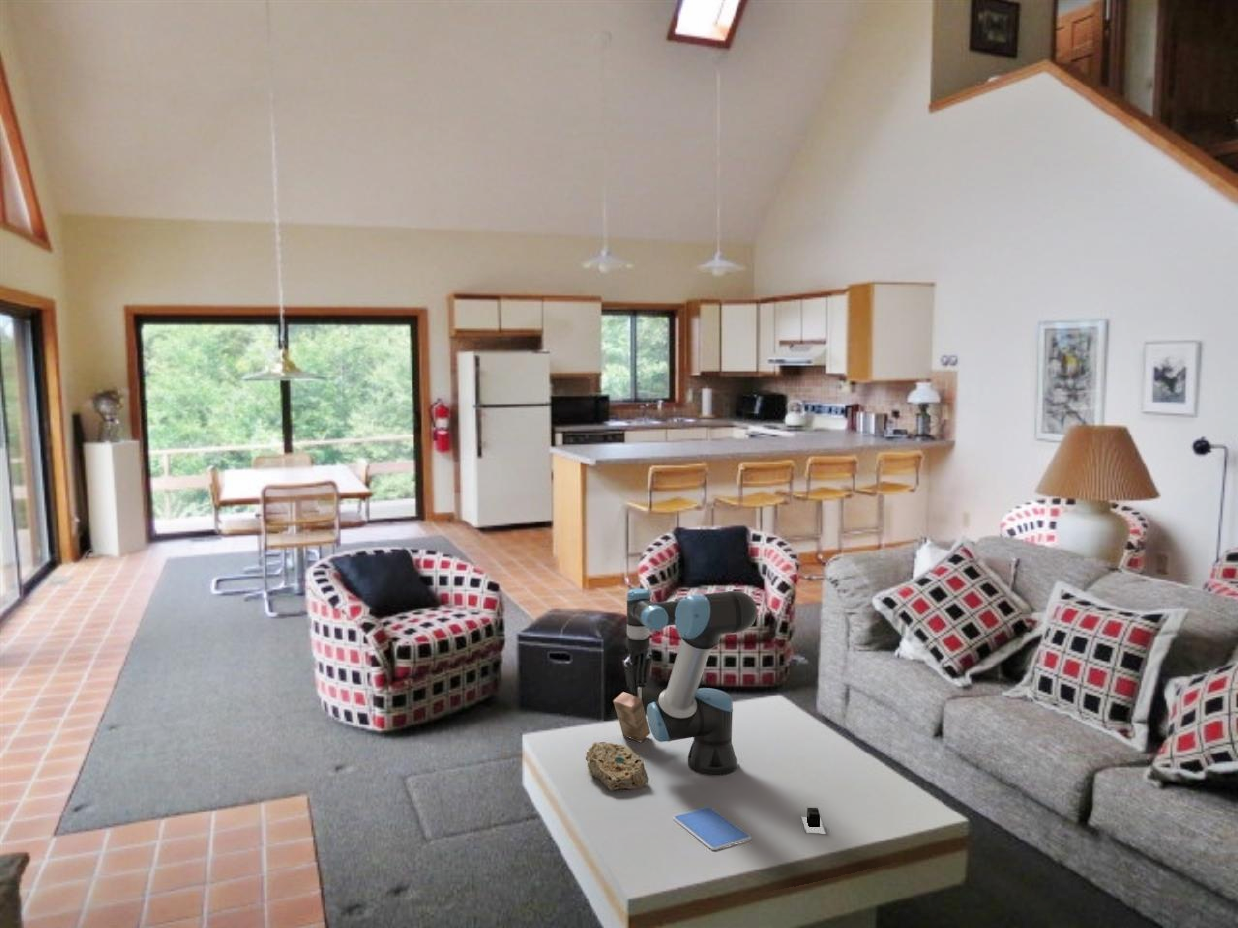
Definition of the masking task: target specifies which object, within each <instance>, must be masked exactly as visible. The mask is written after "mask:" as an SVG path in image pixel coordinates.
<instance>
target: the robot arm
mask: <svg viewBox="0 0 1238 928" xmlns="http://www.w3.org/2000/svg"><path fill="white" fill-rule="evenodd" d="M651 599H652V598H651V593H650V590H648V589H646V588H642V587H641V588H638V587H637V588H632V589H629V590H628V591H627V594H626V644H625V647H626V649H627V651H628V652H627V655H626V659H625V660H624V659H623V660H622V661H621V664H622V666H623V668H624V669H623V670H624V675H625V681H626V687H627V688H631V695H634V696H636V697H639V698H641V699H643V692H644V688H645V687H646V684H647V683H648V681H649V675H650V668H651V665H652V664H651V663H652V660H653V657H654V653H651V652H649V648H650V637H649V636H650V634H651V632H650V631H654V632H659V631H662V630H663V629H664V628H666V627H670V626H675V629H676V632H677V634H678V636H679V637H680V640H681V642H680V645H679V648H678V651H677V655H676V657H675V660H674V663H673V666H672V671H671V673H670V678H669V681H668V684H667V686H666V688H665V689H663V690H662V691H661V692H660V694H659V696H658V699H657V701H652V702H650V703H649V704H648V705H647V707H646V718H647V722H648V726H649V729H650V734H652V736H653V738H654V740H655V741H657V742H660V743H663V742H668V743H669V742H672V741H677V740H684V739H690V738H693V741H692V743H691V746H690V749H689V751H688V755H687V767H688V768H689V769H690V770H691V771H693V772H694V773H697V774H700V775H705V776H713V777H714V776H715V777H716V776H726V775H729V774H731V773H733V772H734V771H736V770H737V767H738V759H737V756H736V753H735V748H734V744H733V741H732V740H733V739H732V737H733V714H734V706H733V705H734V703H733V698H732V696H731V695H729V694H728V693H726V692H725V691H723V690H720V689H715V688H712V687H711V688H710V687H708V688H707V687H701V688H699V687H700V683H701V682H702V681H701V680H702V677H703V674H704V671H705V668H706V665H707V662H708V660H709V659H708V658H709V656H710V653H711V651H712V649H715V648H716V647H718V645H719V643H720V639H721V637H722V635H730V634H738V633H741V632H744V631H746V630H748V629H749V628H751V627H752V626H753V625H754V623H755V621H756V619H757V617H758V606H757V603H756V602H755V600H754V599H753V597H752V596H750V595H749V594H748V593H745V592H742V591H738V590H730V591H721V592H711V593H694V594H691V595H690V594H689V595H686V596H683V597H682V598H681V599H680V600H673V601H672V600H671V601H670V600H669V601H661V602H653V601H651Z"/></svg>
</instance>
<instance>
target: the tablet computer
mask: <svg viewBox="0 0 1238 928" xmlns="http://www.w3.org/2000/svg"><path fill="white" fill-rule="evenodd" d="M672 820H673V821H674V822H675V823H676V824H678V825H680V826H681V828H683V829H685V831H687V832H689V834H691V835H692V836H693V837H694V838H696V839H697V840H699V841H700V842H701V843H702V844H703V845H704V846H706V847H707V848H708V849H709V848H710V849H709V850H710V851H712V850H717V849H720V848H723V847H726V846H729V845H733V844H735V843H739V842H743V841H746V842H748V841H747V840H749V839H750V840H751V836H750V835H749V834H748V833H746V832H744V831H743V830H742V829H740V828H739V827H738V826H737V825H735V824H734V823H732V822H731V821H729V819H727V818H725V816H723V815H722V814H721V813H719V812H718V811H716V810H715V809H714V808H712V807H708V806H707V807H703V808H699V809H696V810H691V811H689V812H688V811H687V812H685V813H681V814H677V815H674V816H673V817H672ZM750 840H749V841H750ZM743 843H744V842H743ZM733 846H734V845H733ZM723 849H724V848H723ZM720 850H721V849H720ZM717 851H718V850H717Z"/></svg>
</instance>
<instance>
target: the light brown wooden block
mask: <svg viewBox="0 0 1238 928" xmlns="http://www.w3.org/2000/svg"><path fill="white" fill-rule="evenodd" d="M642 699H643V698H642ZM642 699H641V698H639V697H636V696H634V695H632V693H631V694H630V693H627V692H624V691H622V692H621V693H620V694H619V695H618V696H616V697H615V698H614V699H613V701H612V702H613V704H614V708H615V711H616V715H617V719H618V723H619V726H620V731H621V734H622V736H624V737H626V738H629V737H631V738H633V739H632V740H634V739H636V740H635V741H637V740H638V741H637V742H639V741H642V742H643V741H644V740H645V739H646V738H647V737H648V736H649V735H650V734H651V730H650V727H649V724H648V718H647V713H646V711H645V705H644V702H643V700H642ZM631 738H630V739H631Z"/></svg>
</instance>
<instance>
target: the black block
mask: <svg viewBox="0 0 1238 928" xmlns="http://www.w3.org/2000/svg"><path fill="white" fill-rule="evenodd" d="M806 816H807V823H808V826H809V827H820V817H821V814H820V810H819V807H806Z"/></svg>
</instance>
